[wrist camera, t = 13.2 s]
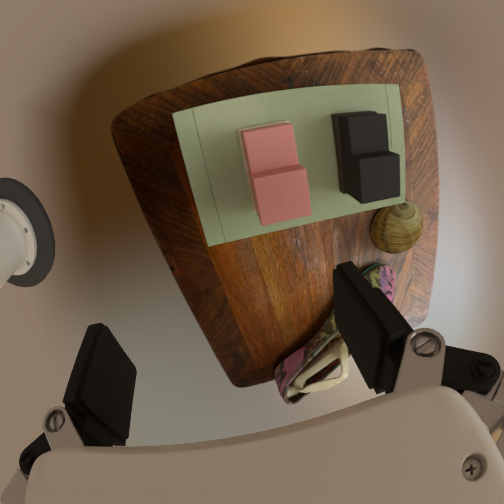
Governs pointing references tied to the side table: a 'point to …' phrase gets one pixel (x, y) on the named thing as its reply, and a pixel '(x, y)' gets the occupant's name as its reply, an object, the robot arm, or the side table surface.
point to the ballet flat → (325, 349)
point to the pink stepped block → (274, 172)
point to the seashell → (396, 227)
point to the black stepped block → (365, 157)
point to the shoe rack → (307, 143)
